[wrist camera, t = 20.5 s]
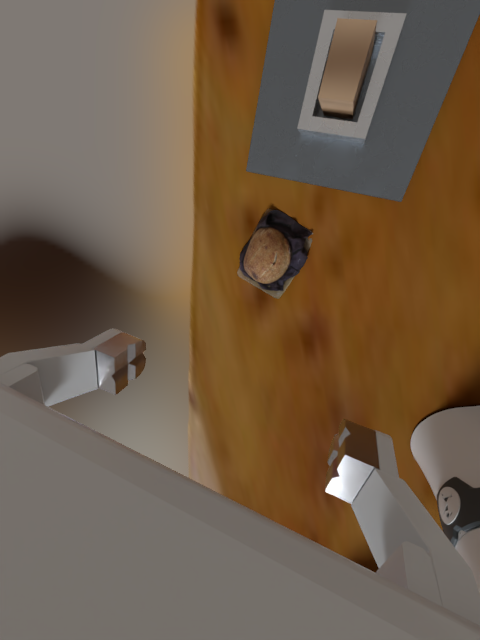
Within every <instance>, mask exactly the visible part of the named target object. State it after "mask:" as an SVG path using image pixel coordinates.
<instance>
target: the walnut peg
mask: <svg viewBox="0 0 480 640" xmlns="http://www.w3.org/2000/svg"><path fill="white" fill-rule="evenodd" d="M376 25H377V20H363V19H343V18H337V22H336V27H335V31H334V35H333V39H332V43H331V47H330V51H329V55H328V59H327V63H326V67H325V71H324V75H323V79H322V83H321V87H320V91H319V95H318V99H319V102H320V105H321V108H322V111H323V115H324V116H331V117H339V118H346V119H353V117H354V113H355V110H356V107H357V103H358V100H359V97H360V93H361V90H362V87H363V83H364V80H365V77H366V74H367V70H368V67H369V64H370V60H371V57H372V52H373V45H374V38H375V32H376Z"/></svg>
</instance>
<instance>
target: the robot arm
mask: <svg viewBox="0 0 480 640" xmlns="http://www.w3.org/2000/svg"><path fill="white" fill-rule="evenodd" d="M145 350H146V343H145V342H144V341H143V340H141V339H139V338H136V337H134V336H132V335H129V334H127V333H125V332H121V331H119V330H117V329H110V330H107V331H106V332H104V333H102V334H100V335H98V336H96V337H94V338H92V339H91V340H89V341H87V342H85V343H83V344H79V343H77V344H70V345H63V346H56V347H49V348H42V349H35V350H28V351H21V352H15V353H8V354H6V355H4V356H2V357H0V640H480V405H479V406H471V407H459V408H452V409H447V410H444V411H441V412H438V413H436V414H433V415H431V416H430V417H428V418H426V419H425V420H424V421H422V422H421V423H420V424H419V425H418V426H417V427H416V429H415V430H414V432H413V434H412V437H411V451H412V454H413V456H414V458H415V459H416V461H417V463H418V464H419V466H420V467H421V469H422V471H423V473H424V474H425V476H426V478H427V480H428V482H429V484H430V486H431V489H432V491H433V493H434V495H435V497H436V500H437V504H438V511H439V516H440V521H441V525H442V528H443V531H444V533H443V531H442V530H441V529H440V527H439V526H438V525H437V523H436V522H435V521H434V519H433V518H432V517H431V515H430V514H429V513H428V511H427V510H426V509H425V507H424V506H423V505H422V503H421V502H420V501H419V499H418V498H417V497H416V496H415V494H414V493H413V492H412V490H411V489H410V488H409V486H408V485H407V484H406V482H405V481H404V480H402V479H400V478H399V475H398V469H397V464H396V459H395V453H394V448H393V442H392V438H391V437H390V435H387V434H384V433H381V432H379V431H376V430H372V429H370V428H367V427H364V426H362V425H359V424H357V423H354V422H351V421H349V420H346V419H343V420H342V422H341V424H340V426H339V434H337V435H335V436H334V438H333V440H332V443H331V446H330V449H329V454H328V464H329V466H330V468H329V470H328V472H327V475H326V488H325V491H326V492H328V493H330V494H332V495H334V496H336V497H338V498H340V499H342V500H344V501H346V502H348V503H350V504H352V505H351V506H352V508H353V511H354V513H355V515H356V518H357V520H358V522H359V525H360V527H361V529H362V531H363V534H364V536H365V538H366V541H367V543H368V545H369V547H370V550H371V552H372V554H373V557H374V559H375V561H376V563H377V566H378V568H379V569H378V570H377V572H376V573H375V572H373V571H371V570H369V569H367V568H365V567H363V566H361V565H359V564H357V563H355V562H353V561H351V560H349V559H347V558H345V557H343V556H341V555H339V554H337V553H336V552H334V551H332V550H330V549H328V548H326V547H324V546H322V545H320V544H318V543H316V542H314V541H312V540H310V539H308V538H306V537H304V536H302V535H300V534H298V533H296V532H294V531H292V530H290V529H288V528H286V527H284V526H282V525H280V524H278V523H276V522H274V521H272V520H270V519H268V518H266V517H265V516H263V515H261V514H259V513H257V512H255V511H253V510H251V509H249V508H247V507H245V506H243V505H241V504H239V503H237V502H235V501H233V500H231V499H229V498H227V497H225V496H223V495H221V494H219V493H217V492H215V491H213V490H211V489H209V488H207V487H205V486H203V485H201V484H199V483H197V482H195V481H194V480H192V479H190V478H188V477H186V476H183V475H182V474H180V473H178V472H176V471H174V470H172V469H170V468H168V467H166V466H164V465H162V464H160V463H158V462H156V461H154V460H152V459H150V458H148V457H146V456H144V455H142V454H140V453H138V452H136V451H134V450H132V449H130V448H128V447H126V446H124V445H122V444H120V443H118V442H116V441H115V440H113V439H111V438H109V437H107V436H105V435H103V434H101V433H99V432H97V431H95V430H93V429H91V428H89V427H87V426H85V425H83V424H81V423H79V422H77V421H75V420H73V419H71V418H69V417H67V416H65V415H63V414H61V413H59V412H57V411H55V410H54V409H52V408H50V407H48V406H50V405H53V404H56V403H59V402H61V401H64V400H67V399H70V398H73V397H76V396H78V395H81V394H84V393H87V392H90V391H92V390H95V389H97V388H100V389H102V390H105V391H107V392H110V393H112V394H114V395H116V394H118V393H119V392H120V391H121V390H122V389H124V388H125V387H126V386H127V385H128V381H129V380H133V379H136V378H137V377H138V376H139V375H140V374H141V372H142V371H143V369H144V367H145V361H146V358H145V356H144V354H143V352H144V351H145Z"/></svg>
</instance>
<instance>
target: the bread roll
mask: <svg viewBox="0 0 480 640" xmlns="http://www.w3.org/2000/svg"><path fill="white" fill-rule="evenodd" d="M311 234H313V233H312V232H311V231H310V230H308V229H307V228H305V227H303V226H302V225H300V224H299V223H298V222H296V221H295V220H293V219H292V218H291V217H289V216H288V215H286V214H284V213H283V212H281V211H278V210H272V209H267V211H266V212H265V213H264V215H263V217H262V218H261V220H260V222H259V224H258V225H257V227H256V229H255V230H254V232H253V235H252V237H251V239H250V240H249V241H248V243H247V245H246V246H244V249H243V250H242V251H241V253H240V267H239V269H238V271H237V273H238V276H239V277H240V278H242V279H244V280H246V281H247V282H249V283H251V284H252V285H254V286H256V287H257V288H259V289H261V290H263V291H264V292H266V293H268V294H269V295H271V296H273V297H274V298H277V299H278V298H280V297H281V296H282V294H283V293H284V292H285V290H286V288H287V287H288V286H289V284H290V283H291V281H292V280H293V278H294V277H295V276H296V275H297V274H298V273H299V271H300V269H301V268H302V267H303V265H304V263H305V262H306V260H307V258H308V257H307V253H308V250H309V248H310V246H311V242H312V239H311V238H310V240H308V238H307V237H308V236H309V235H311Z"/></svg>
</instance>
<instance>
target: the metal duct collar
mask: <svg viewBox="0 0 480 640" xmlns="http://www.w3.org/2000/svg"><path fill="white" fill-rule="evenodd" d="M479 14H480V0H275V3H274V9H273V15H272V21H271V27H270V33H269V39H268V45H267V51H266V57H265V63H264V68H263V74H262V80H261V86H260V92H259V98H258V104H257V110H256V116H255V122H254V128H253V134H252V140H251V146H250V152H249V158H248V163H247V169H246V171H248V172H253V173H258V174H263V175H268V176H273V177H278V178H283V179H288V180H293V181H298V182H303V183H308V184H313V185H318V186H323V187H328V188H333V189H338V190H343V191H349V192H354V193H359V194H364V195H369V196H374V197H379V198H384V199H389V200H394V201H399V202H401V201H402V199H403V196H404V194H405V191H406V189H407V187H408V184H409V182H410V179H411V177H412V175H413V172H414V170H415V167H416V165H417V163H418V160H419V158H420V155H421V153H422V151H423V148H424V146H425V144H426V141H427V139H428V136H429V134H430V132H431V129H432V127H433V124H434V122H435V120H436V117H437V115H438V112H439V110H440V108H441V105H442V103H443V100H444V98H445V96H446V93H447V91H448V88H449V86H450V84H451V81H452V79H453V76H454V74H455V72H456V69H457V67H458V65H459V62H460V60H461V57H462V55H463V53H464V50H465V48H466V45H467V43H468V41H469V38H470V36H471V33H472V31H473V29H474V26H475V24H476V21H477V19H478V17H479ZM337 18H343V19H363V20H377V25H376V32H375V38H374V45H373V52H372V57H371V60H370V64H369V67H368V70H367V74H366V77H365V80H364V83H363V87H362V90H361V93H360V97H359V100H358V103H357V107H356V110H355V113H354V117H353V119H346V118H339V117H331V116H324V115H323V111H322V108H321V105H320V102H319V99H318V95H319V91H320V87H321V83H322V79H323V75H324V71H325V67H326V63H327V59H328V55H329V51H330V47H331V43H332V39H333V35H334V31H335V27H336V22H337Z"/></svg>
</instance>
